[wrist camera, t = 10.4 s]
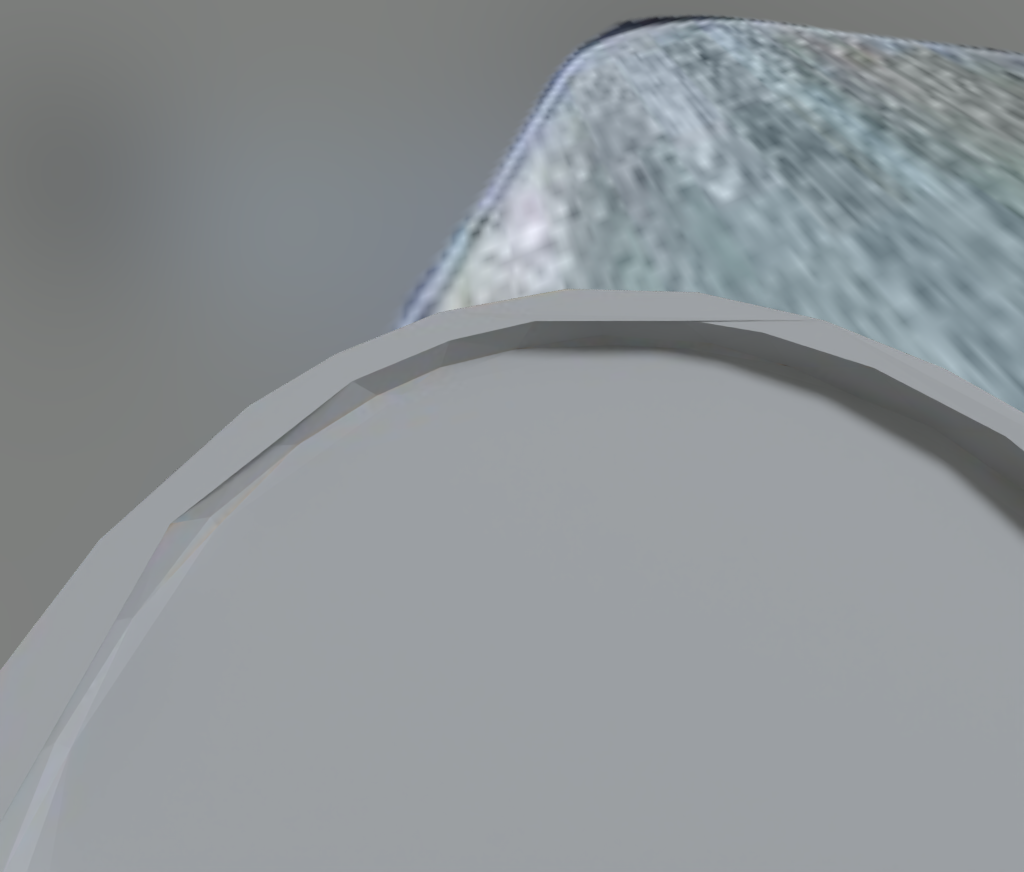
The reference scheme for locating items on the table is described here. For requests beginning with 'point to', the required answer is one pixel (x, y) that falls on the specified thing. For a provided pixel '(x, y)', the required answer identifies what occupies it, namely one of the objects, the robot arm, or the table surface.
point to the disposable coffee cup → (550, 614)
